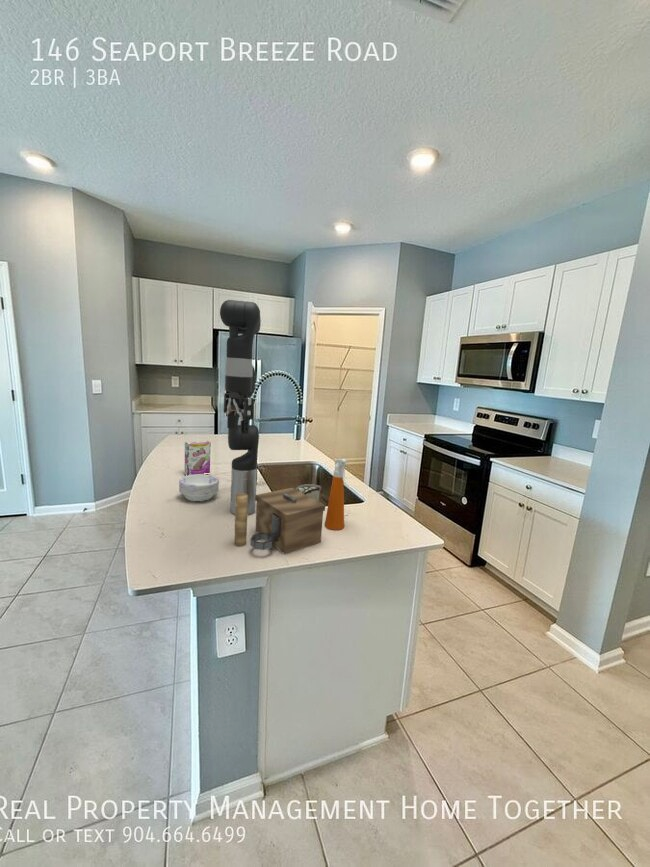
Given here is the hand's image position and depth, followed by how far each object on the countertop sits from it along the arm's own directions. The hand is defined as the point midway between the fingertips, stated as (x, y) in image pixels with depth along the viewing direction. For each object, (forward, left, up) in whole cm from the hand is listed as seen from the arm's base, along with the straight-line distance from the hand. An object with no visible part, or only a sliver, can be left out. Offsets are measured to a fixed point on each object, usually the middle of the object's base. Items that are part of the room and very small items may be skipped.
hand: (237, 430), depth 103 cm
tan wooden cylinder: (0, +2, -36) cm, 36 cm away
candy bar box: (-72, +15, -36) cm, 82 cm away
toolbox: (+4, +17, -36) cm, 40 cm away
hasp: (+8, +6, -34) cm, 35 cm away
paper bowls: (-43, +5, -36) cm, 57 cm away
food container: (-10, +34, -36) cm, 51 cm away
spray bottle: (+8, +35, -36) cm, 51 cm away
